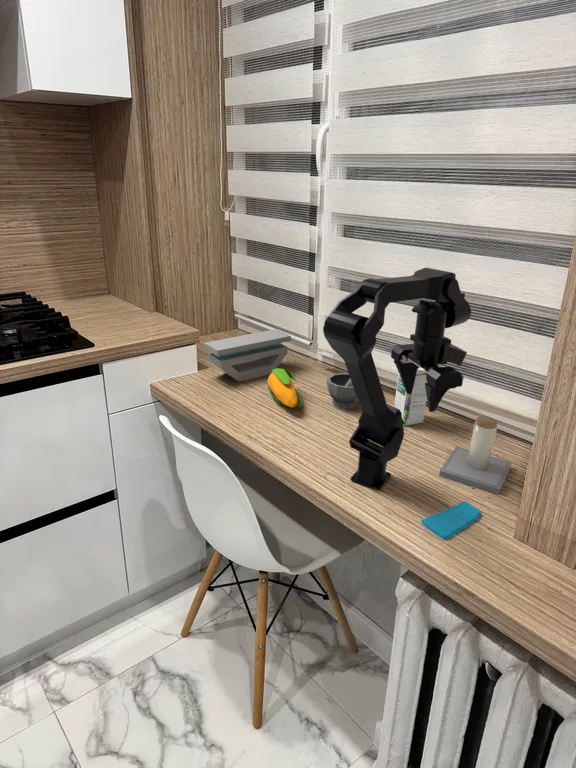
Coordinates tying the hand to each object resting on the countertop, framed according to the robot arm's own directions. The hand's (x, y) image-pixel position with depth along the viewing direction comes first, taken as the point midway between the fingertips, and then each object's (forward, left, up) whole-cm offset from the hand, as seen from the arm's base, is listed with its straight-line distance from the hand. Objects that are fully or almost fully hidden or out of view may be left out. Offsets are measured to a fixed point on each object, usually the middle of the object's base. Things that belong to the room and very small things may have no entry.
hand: (420, 402), depth 113 cm
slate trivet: (+1, -14, -13) cm, 19 cm away
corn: (+8, +39, -13) cm, 42 cm away
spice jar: (+2, -13, -12) cm, 18 cm away
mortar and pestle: (+15, +24, -13) cm, 31 cm away
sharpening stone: (+18, +58, -13) cm, 62 cm away
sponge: (-18, -15, -14) cm, 27 cm away
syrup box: (+16, +7, -13) cm, 22 cm away
